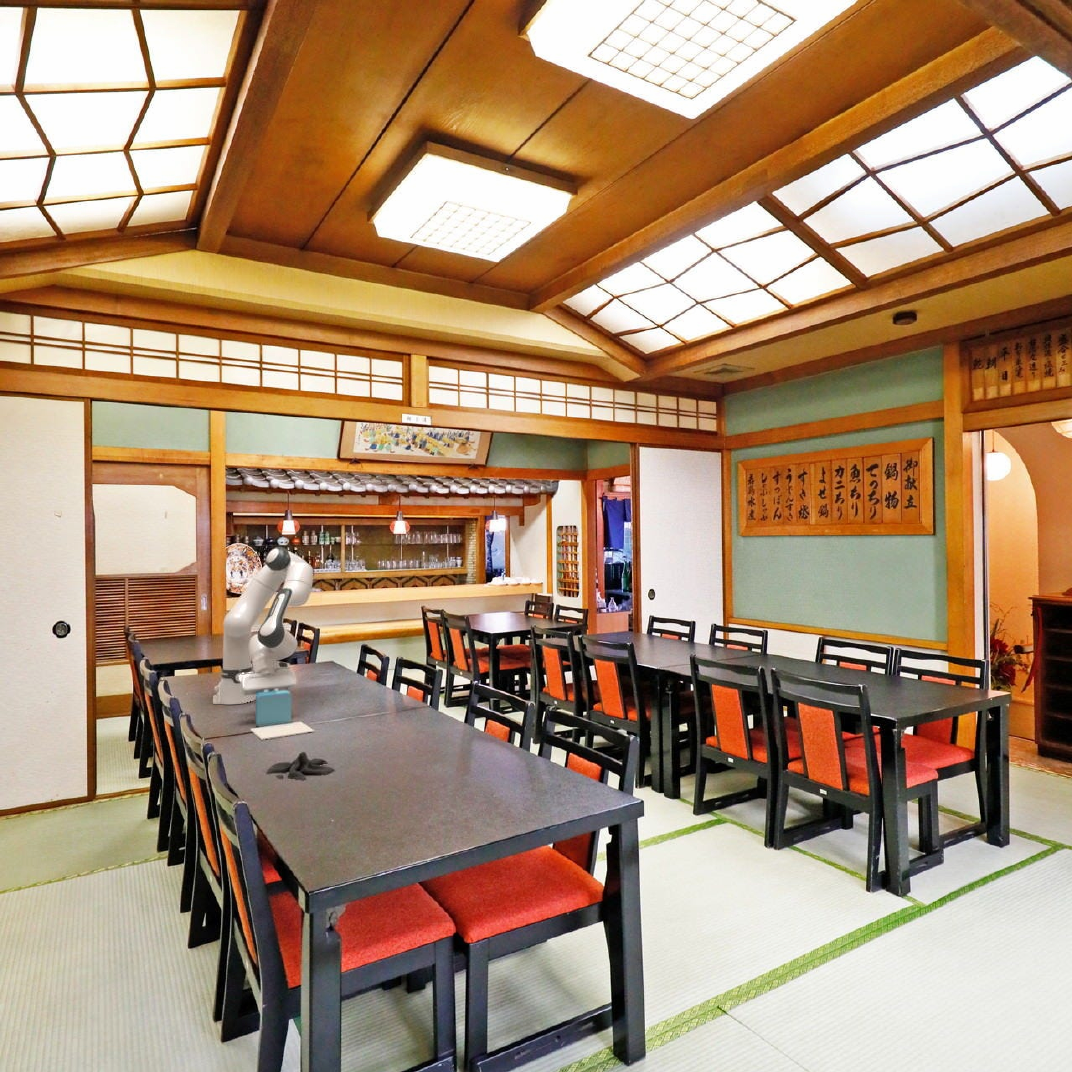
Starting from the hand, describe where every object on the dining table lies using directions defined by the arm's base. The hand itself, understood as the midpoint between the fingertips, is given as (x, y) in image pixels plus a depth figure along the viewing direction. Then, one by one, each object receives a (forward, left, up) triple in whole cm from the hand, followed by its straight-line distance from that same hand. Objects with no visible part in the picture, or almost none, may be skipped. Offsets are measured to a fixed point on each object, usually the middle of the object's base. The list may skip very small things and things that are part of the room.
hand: (272, 700), depth 260 cm
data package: (+3, 0, -9) cm, 9 cm away
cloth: (+64, -9, -9) cm, 65 cm away
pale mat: (+14, 0, -8) cm, 17 cm away
